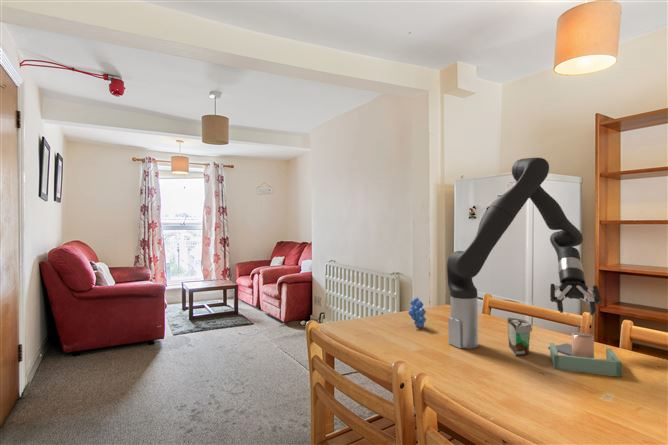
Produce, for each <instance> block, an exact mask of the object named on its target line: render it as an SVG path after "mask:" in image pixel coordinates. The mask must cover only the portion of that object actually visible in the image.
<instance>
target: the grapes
mask: <svg viewBox="0 0 668 445" xmlns="http://www.w3.org/2000/svg"><path fill="white" fill-rule="evenodd" d="M410 305H411V306H410V307H409V311H408V315H409V316H410V318H411V319H412V320H413V321H414V322H413V323H414V325H415V326H416V327H418V326H419V328H424V326H425V323H426V321H427V318H426V317H425V315H426V312H427V311H426V310H425V308H424V303H423V302H422V301H421V300H420V299H419V298H418V297H416V296H415V297H414V298H413V299H412V300H411V301H410Z"/></svg>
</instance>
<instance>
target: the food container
mask: <svg viewBox="0 0 668 445" xmlns="http://www.w3.org/2000/svg"><path fill="white" fill-rule="evenodd" d="M506 322H507V334H508V348H509V349H510V351H511V352H512V354H513V355H514V356H515V357H526V356H528V355H529V353H530V352H529V351H530V339H531V338H530V337H531V332H532V331H533V327H532V324H531V322H530V321H527V320H525V319H523V318H522V319H521V318H517V317H516V318H515V317H507V320H506Z"/></svg>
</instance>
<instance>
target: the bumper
mask: <svg viewBox="0 0 668 445" xmlns="http://www.w3.org/2000/svg"><path fill="white" fill-rule="evenodd" d="M549 347H550V349H549V356H550V359H551V361H552V364H553V369H555V370H561V371H569V372H576V373H577V372H579V373H587V374H594V375H601V376H611V377H616V378H617V377H618V378H623V362H622V360H620V359H619V358H618V356H617V355H616V354H615V352H614V350H612V348H608V347H607V348H606V349H605V350H606V351H605V353H606V354H605V356H606V359H605V358H604V359H602V358H596V357H594V358H586V357H577V356H569V355H566V354H559V352H557V349H556V344H555V342H549Z"/></svg>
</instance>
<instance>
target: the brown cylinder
mask: <svg viewBox="0 0 668 445" xmlns="http://www.w3.org/2000/svg"><path fill="white" fill-rule="evenodd" d="M571 345H572V356H577V357H586V358H595V336H594V335H593V334H590V333H585V332H572V333H571Z"/></svg>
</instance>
